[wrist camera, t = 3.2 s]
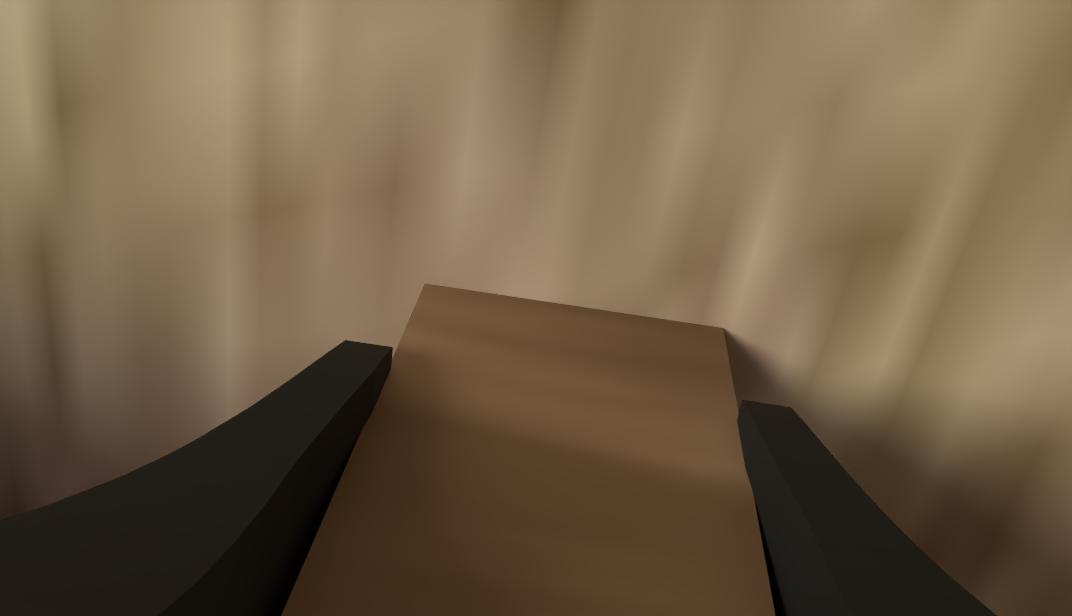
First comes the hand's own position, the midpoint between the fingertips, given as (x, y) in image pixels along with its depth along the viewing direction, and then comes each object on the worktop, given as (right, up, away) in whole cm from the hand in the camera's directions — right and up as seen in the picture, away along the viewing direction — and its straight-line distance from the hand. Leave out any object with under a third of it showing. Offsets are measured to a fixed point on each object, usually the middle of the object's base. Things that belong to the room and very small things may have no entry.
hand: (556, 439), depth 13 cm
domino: (0, +1, +2) cm, 2 cm away
